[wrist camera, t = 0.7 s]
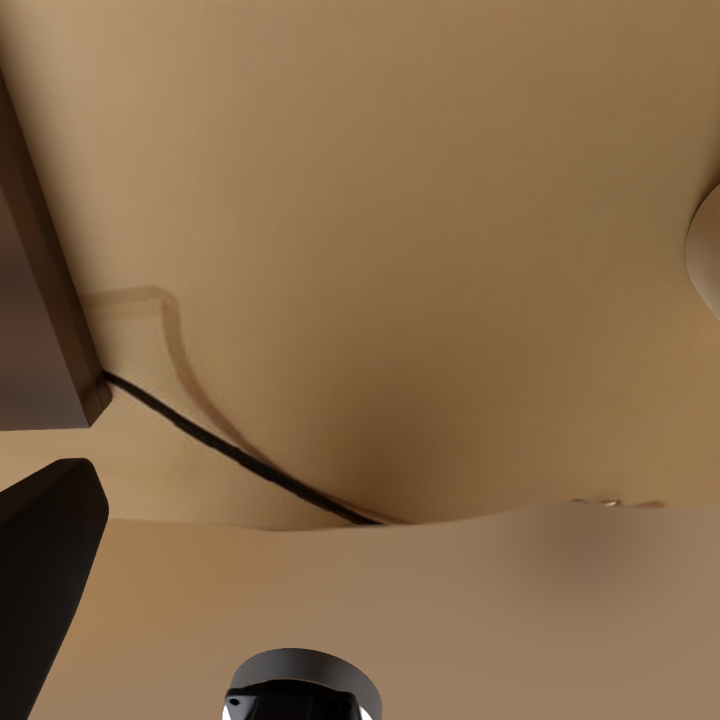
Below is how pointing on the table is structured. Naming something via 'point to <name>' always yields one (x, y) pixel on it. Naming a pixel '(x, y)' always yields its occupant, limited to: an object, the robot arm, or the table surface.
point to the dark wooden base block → (39, 306)
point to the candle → (706, 251)
